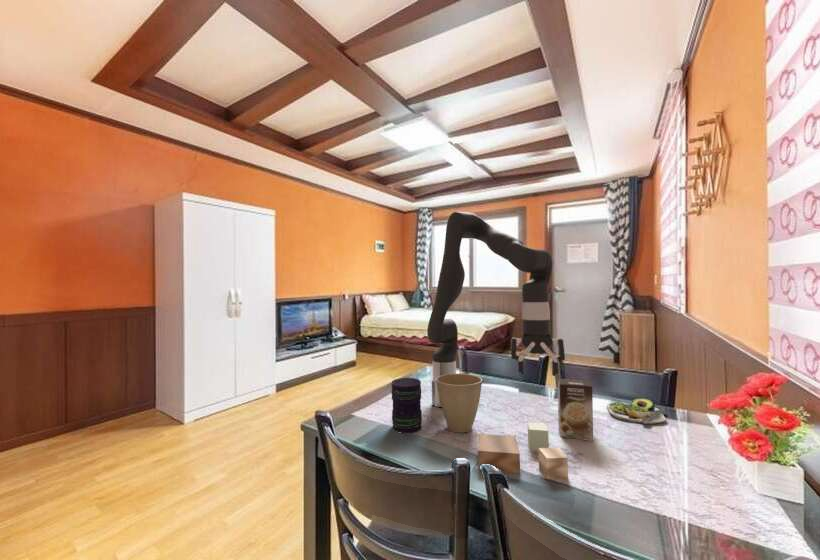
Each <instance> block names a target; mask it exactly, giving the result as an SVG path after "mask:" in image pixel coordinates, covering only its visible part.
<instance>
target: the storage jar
mask: <svg viewBox="0 0 820 560" xmlns="http://www.w3.org/2000/svg"><path fill="white" fill-rule="evenodd" d="M421 382H422V381H421V380H420V379H417V378H414V377H402V378H401V377H400V378H397V379H393V380H392V381H391V400H392V412H391V421H392V430H393V429H394V430H395V431H397V432H396V433H398V432H401V433H400V434H402V433H410V434H415V433H418V432H419V430H420V431H421V430H422V427H423V426H422V423H423V422H422V420H423V416H422V415H423V414H422V409H421V406H422V405H421V404H422V403H421V400H422V385H421V384H422V383H421ZM394 430H393V431H394ZM395 431H394V432H395Z"/></svg>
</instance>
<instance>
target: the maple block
mask: <svg viewBox="0 0 820 560" xmlns="http://www.w3.org/2000/svg"><path fill="white" fill-rule="evenodd" d="M538 450H539V452H538V469H539V470H540V471H541V473H542V474H543V476H544V477H545V479H547V480H562V479H563V480H567V479H569V460H568V456H567V455H566V454H565V453H564V452H563V450H561V449H560V448H559V447H549V448H538Z"/></svg>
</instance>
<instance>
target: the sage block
mask: <svg viewBox="0 0 820 560" xmlns="http://www.w3.org/2000/svg"><path fill="white" fill-rule="evenodd" d="M526 425H527V444H528V449H529V452H534V453H535V452H536V453H537V452H538V453H539V450H538V448H550V447H549V446H550V445H549V444H550V443H549V430H548V427H547V424H546V423H542V422H540V423H539V422H530V421H529V422H527V423H526Z"/></svg>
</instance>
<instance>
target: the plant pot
mask: <svg viewBox="0 0 820 560" xmlns="http://www.w3.org/2000/svg"><path fill="white" fill-rule="evenodd" d="M436 383H437V389H438V395H439V399H440V403H441V407H442V408H441V410H442V413H443V416H444V419H445V423H446V425H447V427H448V429H449V430H450V431H451V432H453V433H459V434H460V433H461V434H462V433H468V432H470V431H471V430H472V429H473V426H474V422H475V420H476V416H477V413H478V409H479V404H480V399H481V393H482V386H483V385H482V383H483V379H482V377H480V376H478V375H474V374H470V373H468V374H467V373H456V374H446V375H441V376H439V377H437V378H436Z"/></svg>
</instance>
